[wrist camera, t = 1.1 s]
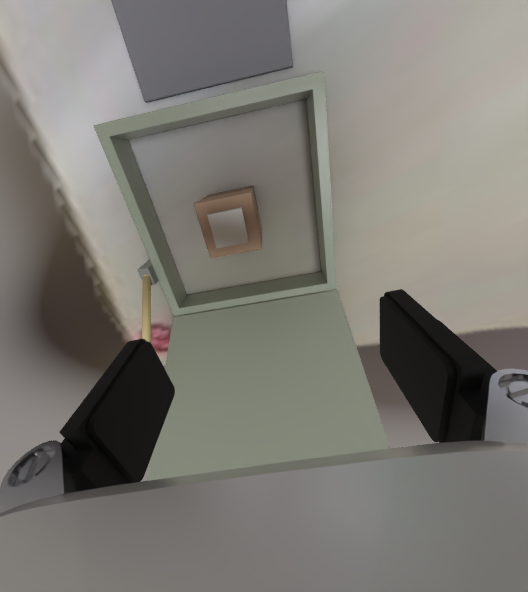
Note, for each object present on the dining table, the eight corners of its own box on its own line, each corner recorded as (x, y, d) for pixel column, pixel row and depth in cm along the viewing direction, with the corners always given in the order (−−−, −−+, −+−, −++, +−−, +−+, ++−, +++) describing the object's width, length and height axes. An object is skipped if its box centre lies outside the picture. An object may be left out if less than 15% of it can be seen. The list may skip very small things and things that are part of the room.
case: (103, 132, 25) (-286, 60, 7) (315, 82, 23) (488, -173, 6) (193, 352, 38) (134, 516, 21) (333, 330, 36) (400, 489, 19)
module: (209, 194, 28) (192, 204, 21) (253, 185, 27) (250, 193, 21) (220, 238, 30) (209, 260, 23) (261, 230, 30) (261, 250, 23)
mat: (87, -78, 19) (84, -83, 18) (271, -135, 18) (271, -141, 17) (146, 102, 24) (144, 101, 24) (292, 67, 23) (292, 65, 22)
